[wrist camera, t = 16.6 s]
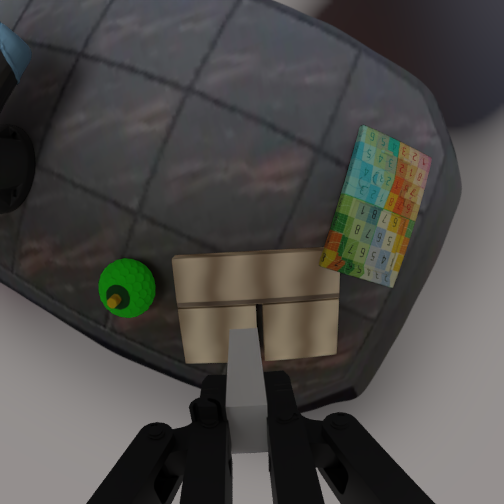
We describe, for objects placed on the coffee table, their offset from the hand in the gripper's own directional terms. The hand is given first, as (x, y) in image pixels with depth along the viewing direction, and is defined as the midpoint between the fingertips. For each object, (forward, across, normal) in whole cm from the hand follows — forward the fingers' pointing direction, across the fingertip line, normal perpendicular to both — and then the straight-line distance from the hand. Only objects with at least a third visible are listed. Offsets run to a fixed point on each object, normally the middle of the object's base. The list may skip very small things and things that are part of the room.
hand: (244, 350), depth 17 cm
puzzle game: (+28, +19, +5) cm, 34 cm away
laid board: (+28, +2, -4) cm, 29 cm away
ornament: (+29, -16, -4) cm, 33 cm away
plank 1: (+28, -4, -12) cm, 31 cm away
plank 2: (+28, +8, -12) cm, 32 cm away
